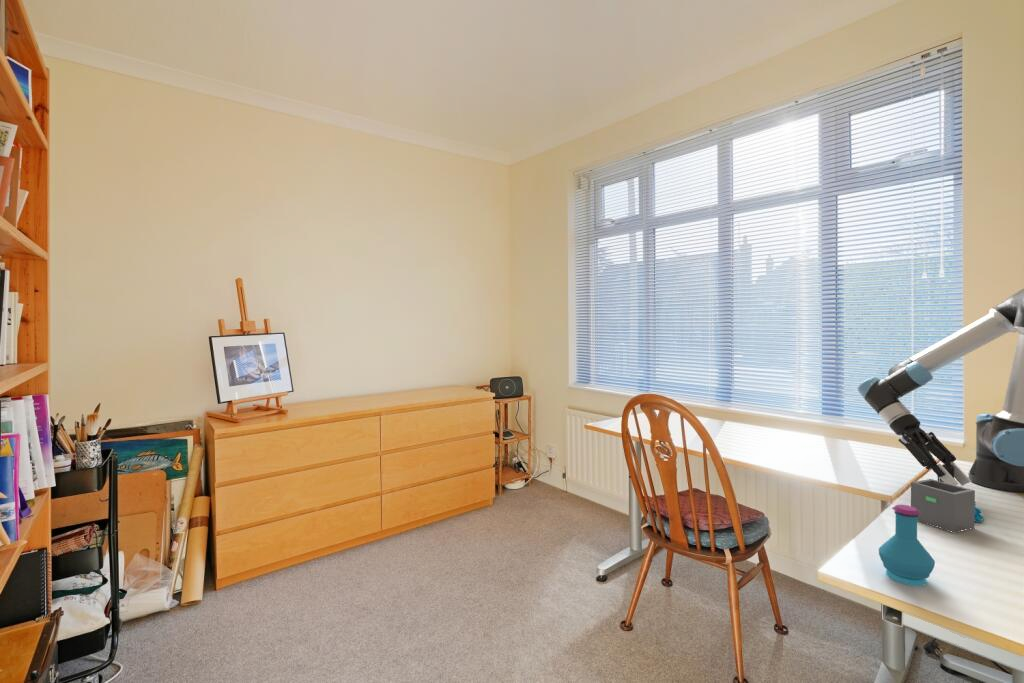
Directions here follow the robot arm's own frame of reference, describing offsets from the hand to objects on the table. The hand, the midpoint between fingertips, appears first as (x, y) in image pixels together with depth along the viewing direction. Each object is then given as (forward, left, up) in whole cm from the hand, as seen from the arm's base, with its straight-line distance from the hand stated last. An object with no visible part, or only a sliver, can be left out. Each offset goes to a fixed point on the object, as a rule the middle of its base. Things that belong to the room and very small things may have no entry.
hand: (960, 484), depth 140 cm
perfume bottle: (+59, +22, -6) cm, 63 cm away
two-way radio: (0, -4, -6) cm, 7 cm away
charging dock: (+21, +7, -6) cm, 23 cm away
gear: (+11, +7, -6) cm, 14 cm away
